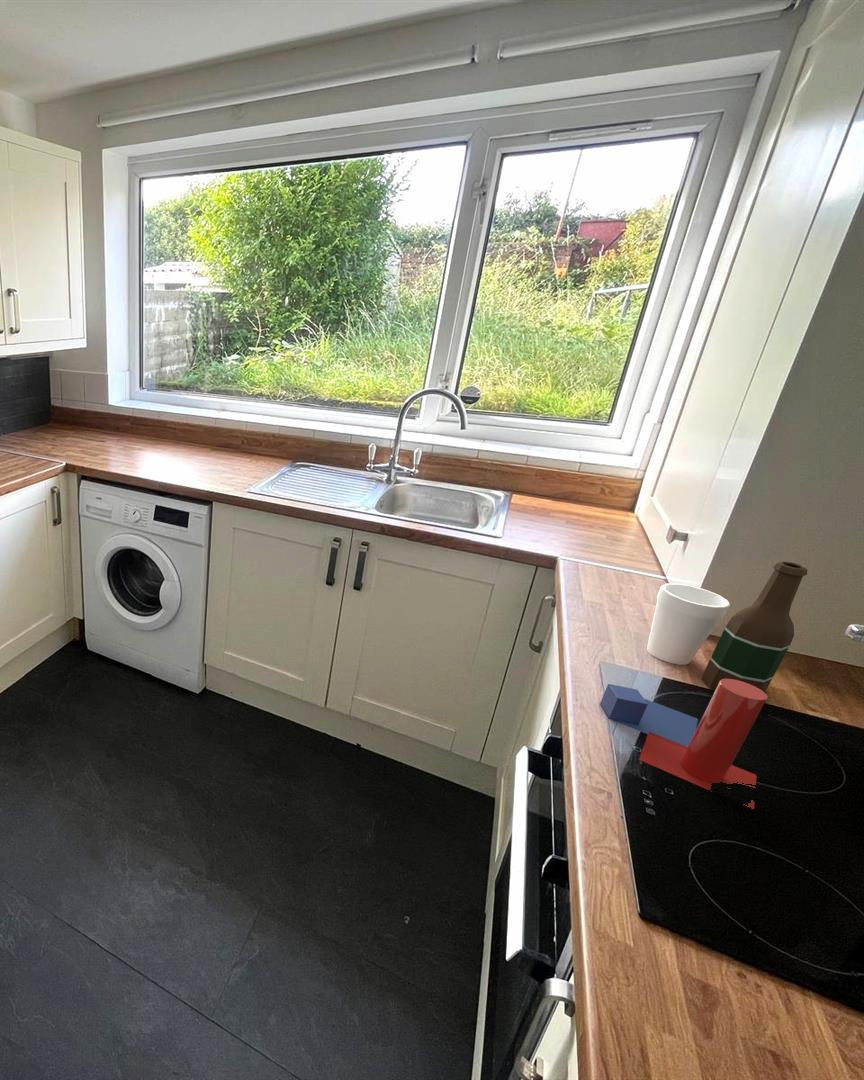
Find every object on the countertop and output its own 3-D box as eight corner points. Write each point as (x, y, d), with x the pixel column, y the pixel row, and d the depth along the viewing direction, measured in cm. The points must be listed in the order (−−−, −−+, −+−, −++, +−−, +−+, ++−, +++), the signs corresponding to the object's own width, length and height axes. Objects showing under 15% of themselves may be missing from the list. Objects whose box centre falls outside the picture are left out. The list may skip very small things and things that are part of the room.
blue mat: (697, 720, 93) (698, 718, 93) (689, 753, 86) (690, 751, 85) (620, 691, 99) (621, 689, 99) (607, 719, 92) (608, 717, 92)
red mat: (755, 777, 82) (756, 775, 81) (752, 812, 76) (754, 809, 76) (647, 733, 90) (648, 731, 89) (638, 761, 84) (638, 759, 84)
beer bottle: (729, 676, 104) (789, 555, 95) (774, 704, 97) (844, 576, 88) (688, 676, 104) (744, 554, 95) (729, 704, 97) (795, 575, 88)
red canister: (724, 771, 82) (768, 689, 77) (721, 788, 79) (767, 704, 74) (681, 754, 85) (721, 674, 80) (678, 769, 82) (718, 687, 77)
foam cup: (624, 645, 113) (649, 586, 108) (657, 639, 116) (682, 580, 111) (678, 673, 105) (707, 610, 100) (712, 665, 108) (742, 604, 103)
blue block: (628, 709, 94) (637, 689, 93) (638, 725, 91) (648, 704, 89) (599, 703, 95) (608, 683, 94) (608, 718, 92) (617, 698, 90)
